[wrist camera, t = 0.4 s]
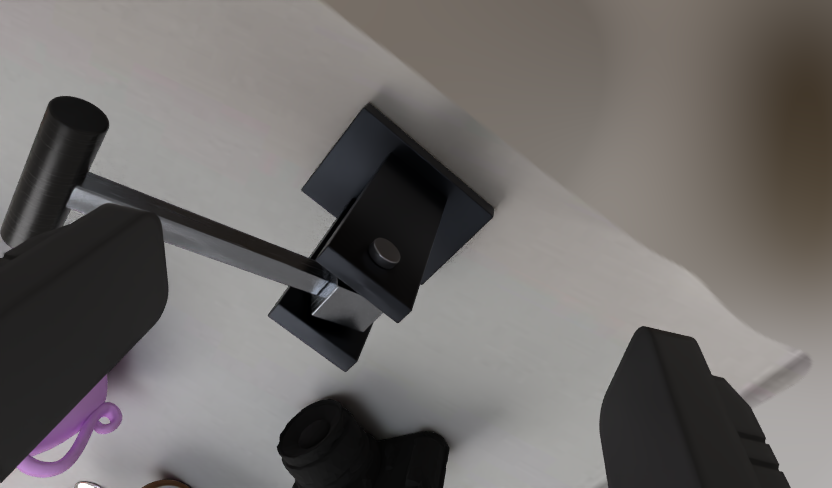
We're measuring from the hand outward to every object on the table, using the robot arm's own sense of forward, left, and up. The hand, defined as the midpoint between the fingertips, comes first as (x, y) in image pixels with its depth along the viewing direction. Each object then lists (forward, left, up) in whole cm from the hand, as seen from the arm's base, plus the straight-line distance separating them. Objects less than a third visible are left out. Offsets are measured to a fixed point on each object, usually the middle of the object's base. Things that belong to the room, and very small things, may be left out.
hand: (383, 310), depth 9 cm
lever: (+10, -4, -11) cm, 15 cm away
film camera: (+30, +12, -24) cm, 40 cm away
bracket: (+10, +1, -23) cm, 25 cm away
